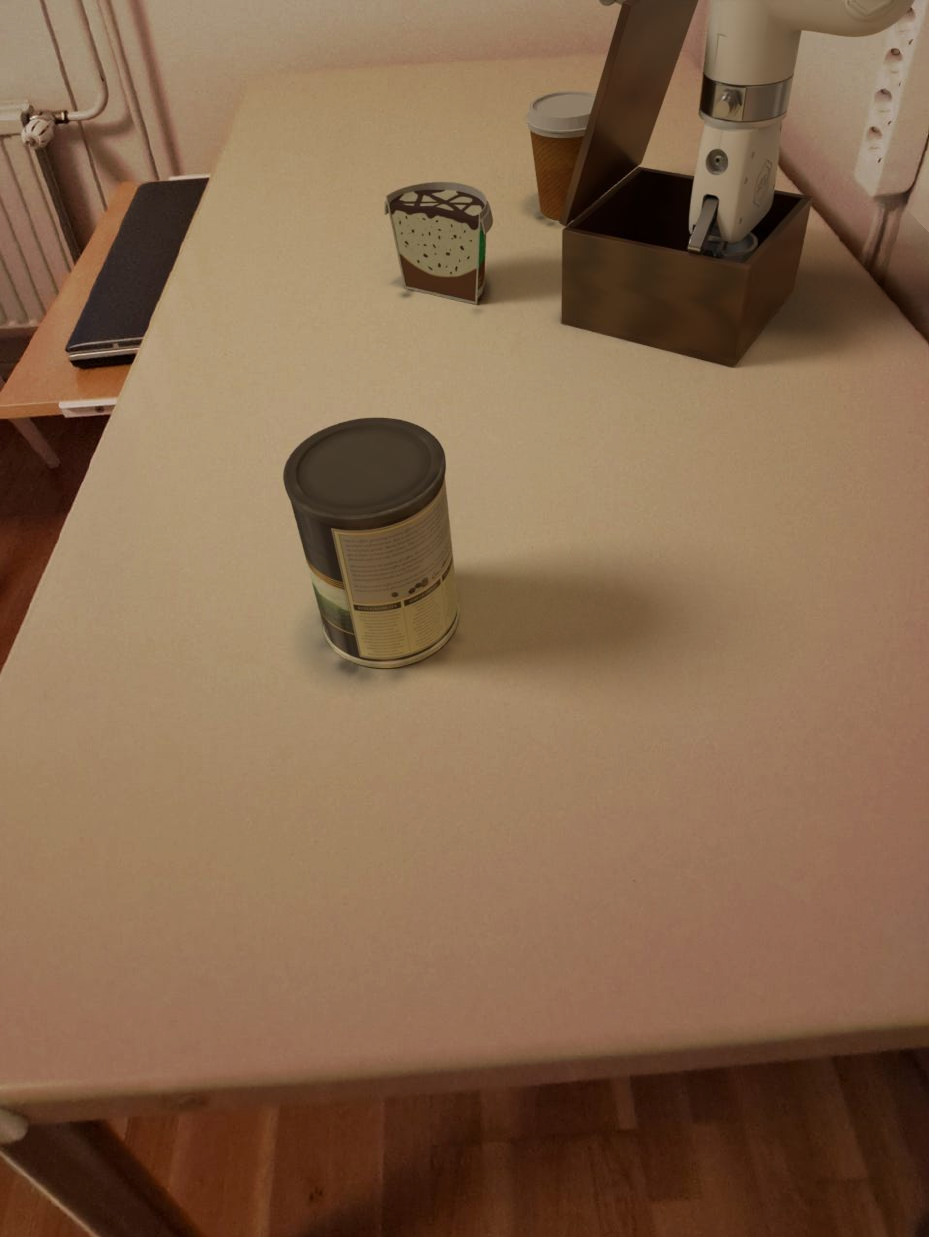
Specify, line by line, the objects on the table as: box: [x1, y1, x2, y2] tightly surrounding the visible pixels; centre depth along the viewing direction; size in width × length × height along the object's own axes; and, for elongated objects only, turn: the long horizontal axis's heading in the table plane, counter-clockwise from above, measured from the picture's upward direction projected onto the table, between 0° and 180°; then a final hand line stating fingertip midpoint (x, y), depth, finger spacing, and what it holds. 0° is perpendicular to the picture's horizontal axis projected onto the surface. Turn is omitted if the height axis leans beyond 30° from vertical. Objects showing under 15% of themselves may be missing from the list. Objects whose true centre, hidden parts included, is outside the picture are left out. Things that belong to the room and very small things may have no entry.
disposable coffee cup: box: [525, 90, 596, 221], centre depth 111 cm, size 10×10×12 cm
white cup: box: [689, 228, 758, 264], centre depth 93 cm, size 6×6×7 cm
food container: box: [383, 181, 494, 306], centre depth 100 cm, size 12×6×10 cm, turn 59°
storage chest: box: [560, 166, 813, 368], centre depth 94 cm, size 19×17×10 cm
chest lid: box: [558, 0, 699, 228], centre depth 86 cm, size 19×17×5 cm
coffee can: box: [282, 417, 460, 669], centre depth 64 cm, size 10×10×14 cm
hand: (717, 288), depth 94 cm, fingers closed on white cup, 6 cm apart
